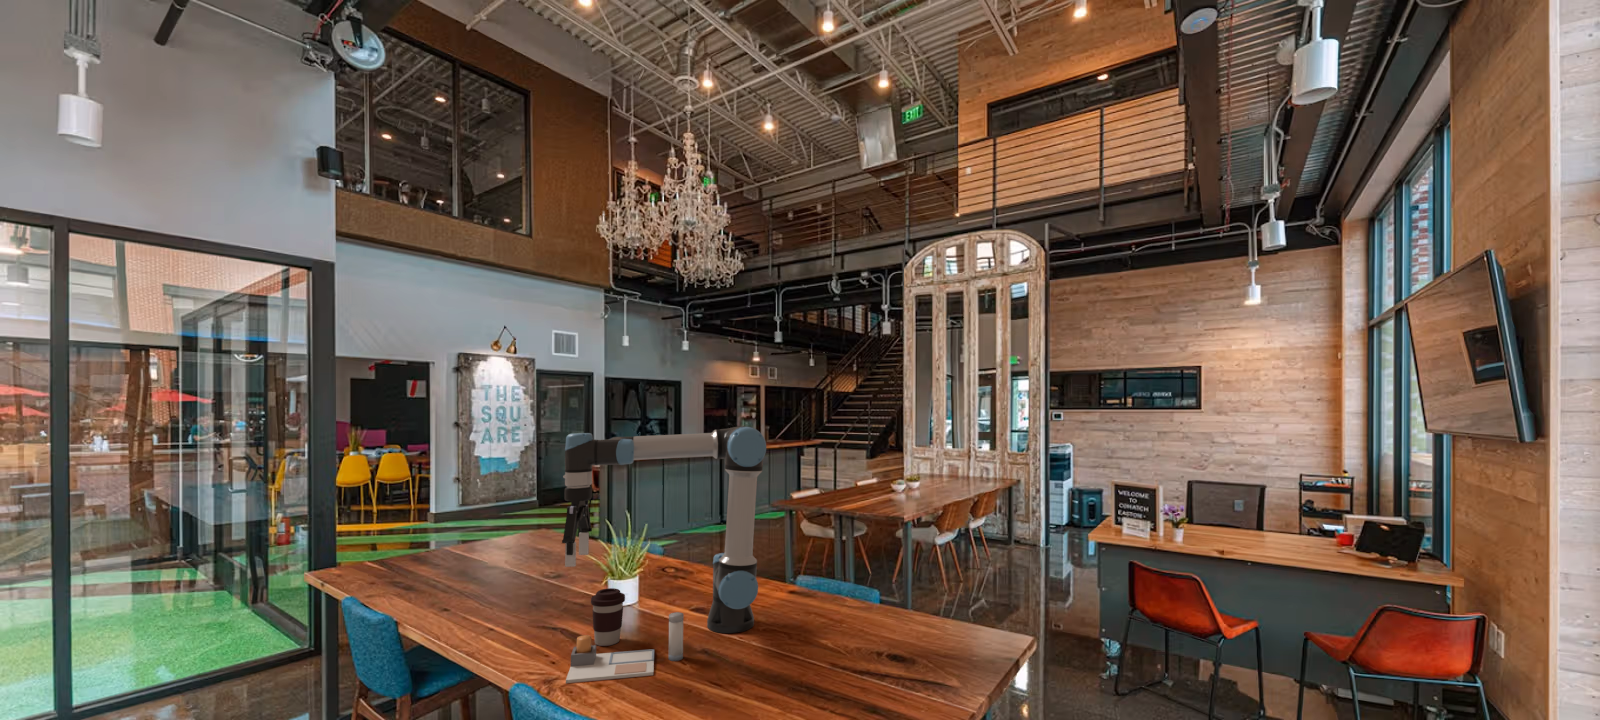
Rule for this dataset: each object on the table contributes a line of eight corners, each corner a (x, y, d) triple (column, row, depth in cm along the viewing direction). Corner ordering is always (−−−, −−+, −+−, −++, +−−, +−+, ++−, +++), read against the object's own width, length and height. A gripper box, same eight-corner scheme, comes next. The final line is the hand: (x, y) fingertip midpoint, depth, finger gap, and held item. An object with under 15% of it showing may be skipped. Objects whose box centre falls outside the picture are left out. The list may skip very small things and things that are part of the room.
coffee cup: (614, 649, 182) (615, 597, 183) (583, 647, 184) (584, 595, 185) (630, 637, 192) (630, 587, 193) (600, 634, 193) (601, 585, 195)
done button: (591, 653, 174) (592, 634, 174) (590, 658, 170) (590, 639, 171) (577, 654, 173) (577, 635, 173) (575, 659, 169) (575, 640, 170)
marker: (682, 654, 178) (683, 611, 179) (683, 660, 174) (683, 616, 175) (668, 656, 177) (668, 612, 178) (668, 661, 173) (668, 617, 174)
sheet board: (654, 651, 180) (654, 638, 180) (653, 675, 164) (653, 660, 165) (574, 658, 175) (574, 644, 176) (565, 683, 160) (566, 668, 160)
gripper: (577, 481, 194) (576, 550, 192) (551, 492, 169) (550, 572, 167) (601, 480, 194) (600, 549, 193) (579, 491, 169) (578, 571, 168)
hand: (577, 560), depth 180 cm, fingers open, 13 cm apart
